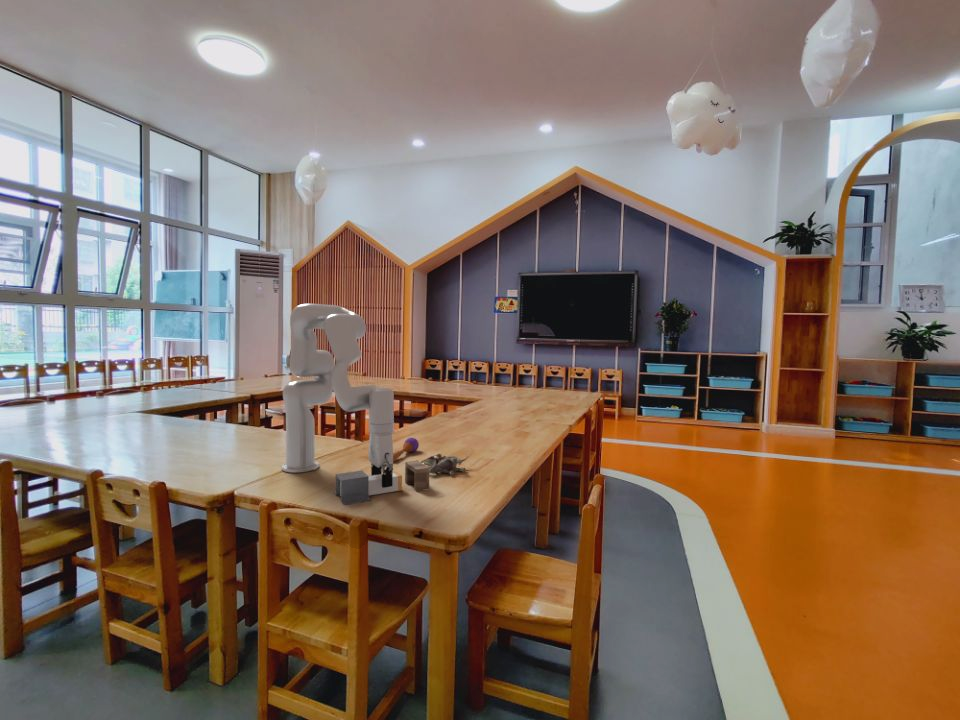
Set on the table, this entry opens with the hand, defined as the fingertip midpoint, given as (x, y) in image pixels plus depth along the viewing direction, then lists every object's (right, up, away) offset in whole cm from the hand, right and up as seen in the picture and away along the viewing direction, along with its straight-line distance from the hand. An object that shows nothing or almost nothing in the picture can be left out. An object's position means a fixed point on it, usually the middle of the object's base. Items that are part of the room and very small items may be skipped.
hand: (381, 482), depth 147 cm
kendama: (0, -1, +42) cm, 42 cm away
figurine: (+16, -2, +24) cm, 29 cm away
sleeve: (-8, -3, -4) cm, 10 cm away
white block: (-3, -3, -1) cm, 4 cm away
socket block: (+10, -3, +7) cm, 12 cm away
